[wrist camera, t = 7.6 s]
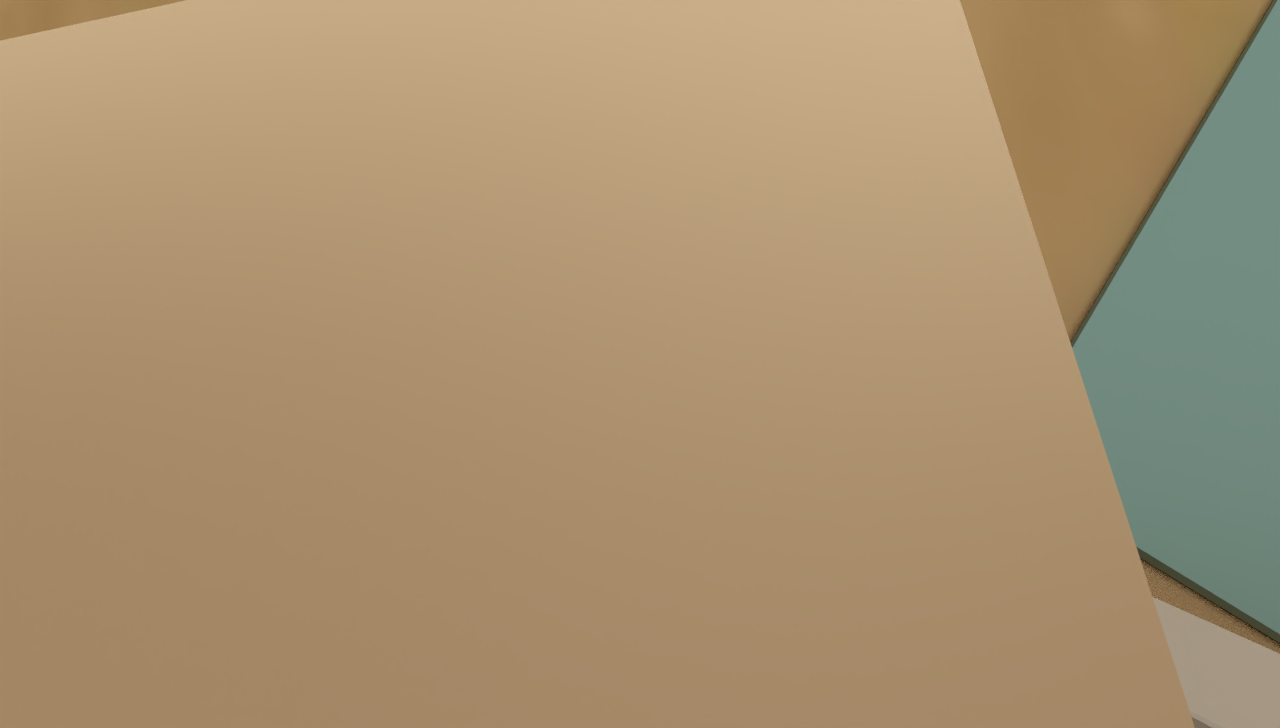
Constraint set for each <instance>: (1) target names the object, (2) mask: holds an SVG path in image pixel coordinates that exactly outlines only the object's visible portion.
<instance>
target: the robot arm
mask: <svg viewBox="0 0 1280 728" xmlns="http://www.w3.org/2000/svg"><path fill="white" fill-rule="evenodd" d="M1153 600H1154V603H1155V606H1156V609H1157V612H1158V615H1159V618H1160V622H1161V625H1162V628H1163V631H1164V634H1165V637H1166V640H1167V643H1168V646H1169V649H1170V652H1171V656H1172V659H1173V662H1174V665H1175V668H1176V671H1177V674H1178V677H1179V680H1180V683H1181V687H1182V690H1183V693H1184V696H1185V699H1186V702H1187V705H1188V708H1189V711H1190V714H1191V717H1192V721H1193V724H1194V727H1195V728H1280V653H1277V652H1275V651H1273V650H1271V649H1268V648H1266V647H1264V646H1262V645H1259V644H1257V643H1255V642H1253V641H1251V640H1248V639H1246V638H1244V637H1242V636H1239V635H1237V634H1235V633H1233V632H1230V631H1228V630H1226V629H1224V628H1222V627H1219V626H1217V625H1215V624H1213V623H1210V622H1208V621H1206V620H1204V619H1201V618H1199V617H1197V616H1195V615H1193V614H1190V613H1188V612H1186V611H1184V610H1181V609H1179V608H1177V607H1175V606H1172V605H1170V604H1168V603H1166V602H1164V601H1161V600H1159V599H1157V598H1155V597H1153Z"/></svg>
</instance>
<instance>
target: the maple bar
mask: <svg viewBox="0 0 1280 728" xmlns="http://www.w3.org/2000/svg"><path fill="white" fill-rule="evenodd" d="M0 728H1195V727H1194V724H1193V721H1192V717H1191V714H1190V711H1189V708H1188V705H1187V702H1186V699H1185V696H1184V693H1183V690H1182V687H1181V683H1180V680H1179V677H1178V674H1177V671H1176V668H1175V665H1174V662H1173V659H1172V656H1171V652H1170V649H1169V646H1168V643H1167V640H1166V637H1165V634H1164V631H1163V628H1162V625H1161V622H1160V618H1159V615H1158V612H1157V609H1156V606H1155V603H1154V600H1153V597H1152V594H1151V591H1150V588H1149V584H1148V581H1147V578H1146V575H1145V572H1144V569H1143V566H1142V563H1141V560H1140V557H1139V553H1138V550H1137V547H1136V544H1135V541H1134V538H1133V535H1132V532H1131V529H1130V526H1129V523H1128V519H1127V516H1126V513H1125V510H1124V507H1123V504H1122V501H1121V498H1120V495H1119V492H1118V488H1117V485H1116V482H1115V479H1114V476H1113V473H1112V470H1111V467H1110V464H1109V461H1108V458H1107V454H1106V451H1105V448H1104V445H1103V442H1102V439H1101V436H1100V433H1099V430H1098V427H1097V423H1096V420H1095V417H1094V414H1093V411H1092V408H1091V405H1090V402H1089V399H1088V396H1087V393H1086V389H1085V386H1084V383H1083V380H1082V377H1081V374H1080V371H1079V368H1078V365H1077V362H1076V358H1075V355H1074V352H1073V349H1072V346H1071V343H1070V340H1069V337H1068V334H1067V331H1066V328H1065V324H1064V321H1063V318H1062V315H1061V312H1060V309H1059V306H1058V303H1057V300H1056V297H1055V294H1054V290H1053V287H1052V284H1051V281H1050V278H1049V275H1048V272H1047V269H1046V266H1045V263H1044V259H1043V256H1042V253H1041V250H1040V247H1039V244H1038V241H1037V238H1036V235H1035V232H1034V229H1033V225H1032V222H1031V219H1030V216H1029V213H1028V210H1027V207H1026V204H1025V201H1024V198H1023V194H1022V191H1021V188H1020V185H1019V182H1018V179H1017V176H1016V173H1015V170H1014V167H1013V164H1012V160H1011V157H1010V154H1009V151H1008V148H1007V145H1006V142H1005V139H1004V136H1003V133H1002V129H1001V126H1000V123H999V120H998V117H997V114H996V111H995V108H994V105H993V102H992V99H991V95H990V92H989V89H988V86H987V83H986V80H985V77H984V74H983V71H982V68H981V65H980V61H979V58H978V55H977V52H976V49H975V46H974V43H973V40H972V37H971V34H970V30H969V27H968V24H967V21H966V18H965V15H964V12H963V9H962V6H961V3H960V0H186V1H182V2H177V3H172V4H168V5H163V6H159V7H154V8H149V9H145V10H140V11H135V12H131V13H126V14H122V15H117V16H112V17H108V18H103V19H99V20H94V21H89V22H85V23H80V24H76V25H71V26H66V27H62V28H57V29H53V30H48V31H43V32H39V33H34V34H29V35H25V36H20V37H16V38H11V39H6V40H2V41H0Z"/></svg>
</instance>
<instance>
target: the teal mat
mask: <svg viewBox="0 0 1280 728" xmlns="http://www.w3.org/2000/svg"><path fill="white" fill-rule="evenodd" d="M1071 346H1072V349H1073V352H1074V355H1075V358H1076V362H1077V365H1078V368H1079V371H1080V374H1081V377H1082V380H1083V383H1084V386H1085V389H1086V393H1087V396H1088V399H1089V402H1090V405H1091V408H1092V411H1093V414H1094V417H1095V420H1096V423H1097V427H1098V430H1099V433H1100V436H1101V439H1102V442H1103V445H1104V448H1105V451H1106V454H1107V458H1108V461H1109V464H1110V467H1111V470H1112V473H1113V476H1114V479H1115V482H1116V485H1117V488H1118V492H1119V495H1120V498H1121V501H1122V504H1123V507H1124V510H1125V513H1126V516H1127V519H1128V523H1129V526H1130V529H1131V532H1132V535H1133V538H1134V541H1135V544H1136V547H1137V550H1138V553H1139V557H1140V558H1141V559H1143V560H1145V561H1146V562H1148V563H1149V564H1151V565H1153V566H1154V567H1156V568H1158V569H1159V570H1161V571H1163V572H1164V573H1166V574H1167V575H1169V576H1171V577H1172V578H1174V579H1176V580H1177V581H1179V582H1180V583H1182V584H1184V585H1185V586H1187V587H1189V588H1190V589H1192V590H1194V591H1195V592H1197V593H1198V594H1200V595H1202V596H1203V597H1205V598H1207V599H1208V600H1210V601H1212V602H1213V603H1215V604H1216V605H1218V606H1220V607H1221V608H1223V609H1225V610H1226V611H1228V612H1230V613H1231V614H1233V615H1234V616H1236V617H1238V618H1239V619H1241V620H1243V621H1244V622H1246V623H1248V624H1249V625H1251V626H1252V627H1254V628H1256V629H1257V630H1259V631H1261V632H1262V633H1264V634H1265V635H1267V636H1269V637H1270V638H1272V639H1274V640H1275V641H1277V642H1279V643H1280V0H1273V1H1272V3H1271V5H1270V7H1269V8H1268V10H1267V12H1266V13H1265V15H1264V17H1263V18H1262V20H1261V22H1260V23H1259V25H1258V27H1257V29H1256V30H1255V32H1254V34H1253V35H1252V37H1251V39H1250V40H1249V42H1248V44H1247V45H1246V47H1245V49H1244V51H1243V52H1242V54H1241V56H1240V57H1239V59H1238V61H1237V62H1236V64H1235V66H1234V67H1233V69H1232V71H1231V73H1230V74H1229V76H1228V78H1227V79H1226V81H1225V83H1224V84H1223V86H1222V88H1221V89H1220V91H1219V93H1218V95H1217V96H1216V98H1215V100H1214V101H1213V103H1212V105H1211V106H1210V108H1209V110H1208V111H1207V113H1206V115H1205V117H1204V118H1203V120H1202V122H1201V123H1200V125H1199V127H1198V128H1197V130H1196V132H1195V133H1194V135H1193V137H1192V139H1191V140H1190V142H1189V144H1188V145H1187V147H1186V149H1185V150H1184V152H1183V154H1182V155H1181V157H1180V159H1179V161H1178V162H1177V164H1176V166H1175V167H1174V169H1173V171H1172V172H1171V174H1170V176H1169V177H1168V179H1167V181H1166V183H1165V184H1164V186H1163V188H1162V189H1161V191H1160V193H1159V194H1158V196H1157V198H1156V199H1155V201H1154V203H1153V205H1152V206H1151V208H1150V210H1149V211H1148V213H1147V215H1146V216H1145V218H1144V220H1143V221H1142V223H1141V225H1140V227H1139V228H1138V230H1137V232H1136V233H1135V235H1134V237H1133V238H1132V240H1131V242H1130V243H1129V245H1128V247H1127V249H1126V250H1125V252H1124V254H1123V255H1122V257H1121V259H1120V260H1119V262H1118V264H1117V265H1116V267H1115V269H1114V271H1113V272H1112V274H1111V276H1110V277H1109V279H1108V281H1107V282H1106V284H1105V286H1104V287H1103V289H1102V291H1101V293H1100V294H1099V296H1098V298H1097V299H1096V301H1095V303H1094V304H1093V306H1092V308H1091V309H1090V311H1089V313H1088V315H1087V316H1086V318H1085V320H1084V321H1083V323H1082V325H1081V326H1080V328H1079V330H1078V331H1077V333H1076V335H1075V337H1074V338H1073V340H1072V342H1071Z"/></svg>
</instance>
